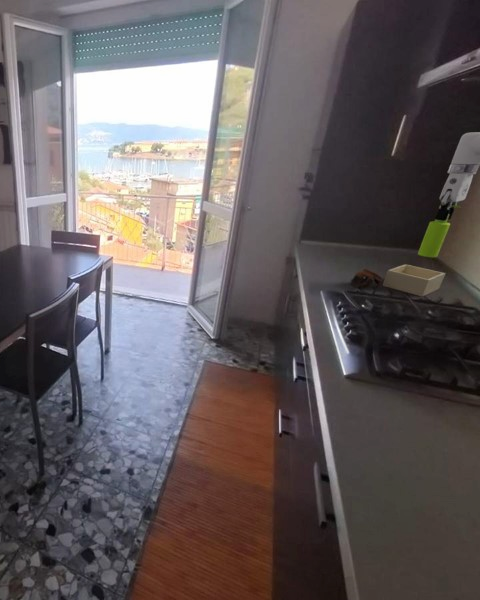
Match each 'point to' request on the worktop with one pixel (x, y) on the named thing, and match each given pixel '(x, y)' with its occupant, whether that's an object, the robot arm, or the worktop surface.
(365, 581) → the worktop surface
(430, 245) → the soap dispenser
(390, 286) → the open rectangular box
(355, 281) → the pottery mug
